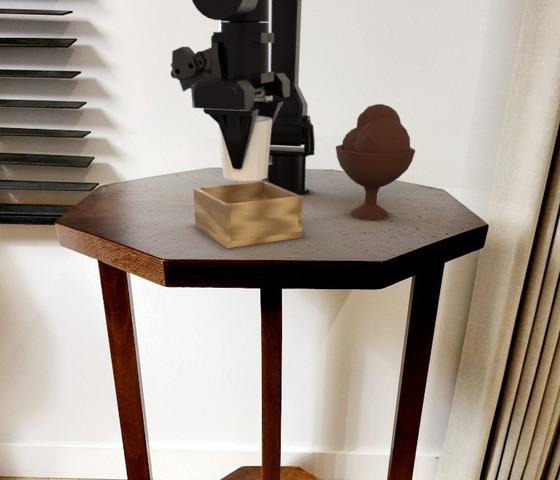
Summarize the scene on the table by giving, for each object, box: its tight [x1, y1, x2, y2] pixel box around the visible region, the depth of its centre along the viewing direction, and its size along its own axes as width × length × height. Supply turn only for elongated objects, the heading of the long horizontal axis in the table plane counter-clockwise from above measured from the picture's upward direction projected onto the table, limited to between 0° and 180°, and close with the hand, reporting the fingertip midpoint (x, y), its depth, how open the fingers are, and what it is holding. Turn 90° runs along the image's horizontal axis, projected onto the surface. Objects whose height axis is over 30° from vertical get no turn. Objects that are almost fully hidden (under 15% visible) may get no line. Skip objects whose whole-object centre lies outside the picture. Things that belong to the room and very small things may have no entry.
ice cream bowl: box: [335, 103, 416, 221], centre depth 85 cm, size 11×11×15 cm
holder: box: [192, 180, 304, 249], centre depth 79 cm, size 11×11×5 cm
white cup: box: [216, 116, 272, 182], centre depth 76 cm, size 7×7×7 cm
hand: (246, 164), depth 77 cm, fingers closed on white cup, 6 cm apart
